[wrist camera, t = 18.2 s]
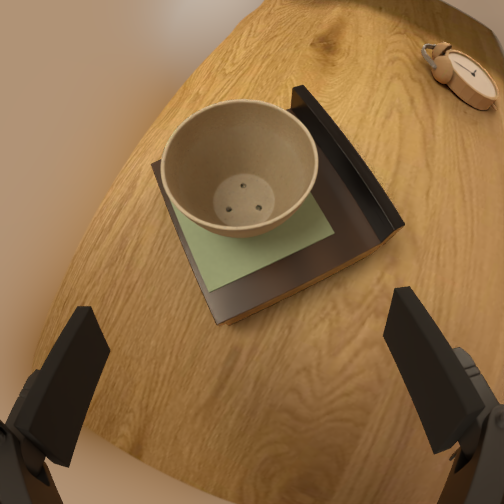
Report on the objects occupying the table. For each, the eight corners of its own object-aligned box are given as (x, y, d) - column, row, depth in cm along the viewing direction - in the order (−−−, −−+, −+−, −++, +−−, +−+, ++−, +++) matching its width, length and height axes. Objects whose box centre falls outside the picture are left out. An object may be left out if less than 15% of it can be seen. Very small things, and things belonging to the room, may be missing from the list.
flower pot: (161, 204, 26) (132, 159, 19) (247, 136, 27) (242, 80, 21) (240, 289, 23) (232, 265, 16) (329, 205, 25) (350, 158, 18)
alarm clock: (503, 113, 31) (429, 52, 30) (485, 127, 35) (414, 72, 35) (496, 76, 34) (430, 24, 33) (482, 90, 38) (418, 42, 38)
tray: (223, 328, 27) (210, 322, 20) (162, 184, 31) (140, 145, 24) (376, 251, 28) (405, 224, 22) (297, 128, 33) (303, 84, 26)
